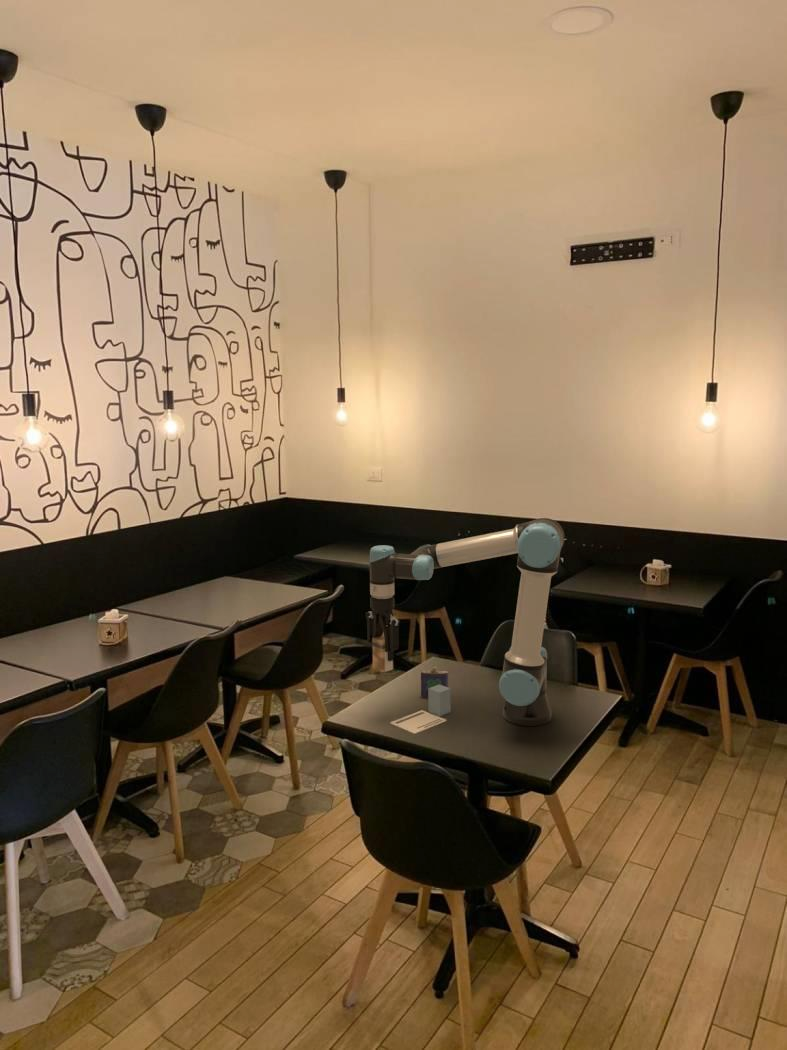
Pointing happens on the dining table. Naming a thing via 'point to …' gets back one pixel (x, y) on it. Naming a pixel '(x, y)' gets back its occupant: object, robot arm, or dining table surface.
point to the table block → (379, 653)
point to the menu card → (418, 722)
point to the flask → (432, 680)
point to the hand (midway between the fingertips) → (383, 668)
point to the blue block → (439, 700)
